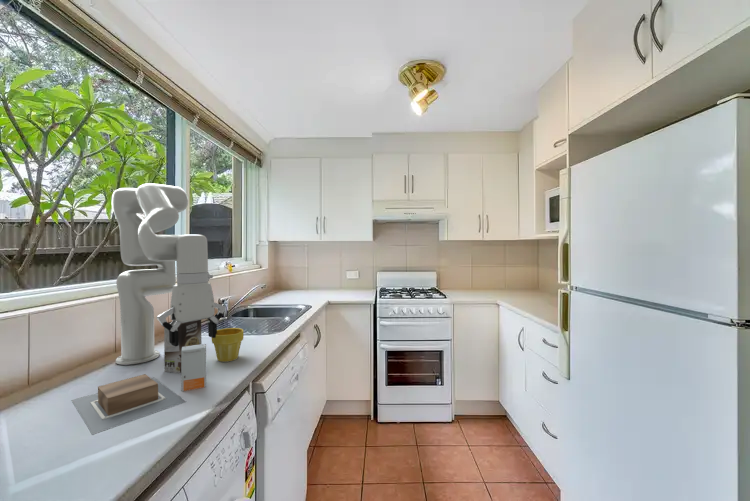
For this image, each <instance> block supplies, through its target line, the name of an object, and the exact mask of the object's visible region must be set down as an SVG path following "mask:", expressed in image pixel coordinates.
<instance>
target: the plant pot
mask: <svg viewBox="0 0 750 501" xmlns="http://www.w3.org/2000/svg"><path fill="white" fill-rule="evenodd" d="M242 341H244V329H243V328H240V327H227V328H226V327H225V328H220V329H217V334H216V338H212V337H211V343H212V344H213V346H214V350H215V355H216V359H217V361H218V362H221V363H224V362H225V363H227V362H231V361H235V360H237V359H238V358H239V355H240V349H241V344H242Z"/></svg>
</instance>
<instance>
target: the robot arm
mask: <svg viewBox="0 0 750 501" xmlns="http://www.w3.org/2000/svg"><path fill="white" fill-rule="evenodd" d="M188 205H189V197H188V194H187V192H186V191H185V190H184V189H183V188H182V187H180V186H177V185H176V186H174V185H168V184H163V183H162V184H160V183H154V182H153V183H151V182H149V183H143V184H141V185H139V186H138V187H137V188H135V187H120V188H118V189H116V190H114V191H113V193H112V195H111V208H112V211H113V213H114V216H115V219H116V222H117V224H118V228H119V244H120V247H119V248H120V257H121V261H122V263H123V264H124V265H126V266H129V267H141V266H146V267H147V266H157V267H158V268H151V269H148V268H147V269H145V268H144V269H143V268H142V269H132V270H126V271H123V272H121V273H120V274H119V275H118V276H117V278H116V289H117V293H118V298H119V310H120V350H121V351H120V354H121V355H119V356H118V357H117V358H116V359H115V364H118V365H123V366H126V365H127V366H128V365H130V366H131V365H136V364H137V365H138V364H143V363H148V362H150V361H152V360H154V359H157V358H158V357H160V355H161V352H160V351H159V350H156V349H155V308H154V306H153V304H152V303H151V302H150V301H149V300H147V298H146V297H149V296H156V295H157V296H158V295H164V294H165V295H166V294H170V293H171V297H170V308H168V309H166V310H165V311H163V312H162V313H160V314H158V315H157V316H156V319H157V321H158V322H159V324H160V325H161V327H163V328H164V327H165V328H166V329H167V330H169V342H170V343H171V345H173V346H175V347H176V346H178V345H179V339H178V331H176V329H177V328H178V327H179V325H180V324H181V323H185V322H191V321H197V320H201V321H202V320H206V319H207V320H208V321H209V322H208V324H207V327H208V328H207V331H208V337H210V338H211V339H212V338H216V334H217V330H218V323H219V322H220V319H221V318H222V317H223V315H224V312H225V310H226V306H225V305H222V304H220V303H216V302H215V299H214V293H213V291H214V290H213V288H212V287H213V286H212V284H211V282H210V279H214V275H213V273H209V262H208V261H209V255H208V238H207V237H206V236H205V235H203V234H156V233H159V232H163V231H164V230H165V231H166V230H167V229H170V228H173V226H175V225H176V224H177V223H178V221H179V218H180V215H179V213H181V212H184V211H185V210H186V209H187V207H188ZM140 214H142V215H144V218H143V216H141V215H140ZM215 309H217V312H216V311H215ZM215 312H216V313H215ZM168 317H170V318H169V319H170V320H171V321H170V322H171V323H170V324H169V323H168V321H167V319H166V318H168Z"/></svg>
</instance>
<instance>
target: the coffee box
mask: <svg viewBox="0 0 750 501" xmlns="http://www.w3.org/2000/svg"><path fill="white" fill-rule="evenodd" d="M167 322H168V321H167ZM171 322H172V321H169V322H168V323H169V324H170V323H171ZM163 328H164V329H163V331H164V332H163V334H164V335H163V338H164V340H163V341H164V347H163V348H164V352H163V353H164V355H163V356H164V357H163V358H164V359H163V360H164V363H163V364H164V365H163V366H164V373H175V374H181V351H182V347H185V346H192V345H200V344H203V343H202V320H197V321H191V322H185V323H181V324H180V325H179V327H178V328H177V329H176V331H178V339H179V345H178V346H176V347H175V346H173V345H171V343H170V342H169V330H167V329H166V328H165V327H163Z"/></svg>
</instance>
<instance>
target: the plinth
mask: <svg viewBox="0 0 750 501" xmlns="http://www.w3.org/2000/svg"><path fill="white" fill-rule="evenodd" d="M151 378H152V377H150V376H149V375H147V374H146V373H145V374H140V375H137V376H132V377H128V378H125V379H121V380H117V381H114V382H110V383H105V384H103V385H99V386H97V393H98V403H99V404H100V406H101V407H102V408H103V409H104V411H105V412H106V413H107V415H108V416H109V415H112V414H115V413H118V412H121V411H124V410H127V409H130V408H133V407H136V406H139V405H142V404H146V403H149V402H152V401H155V400H158V383H156V382H155V381H154V380H152V379H151Z"/></svg>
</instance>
